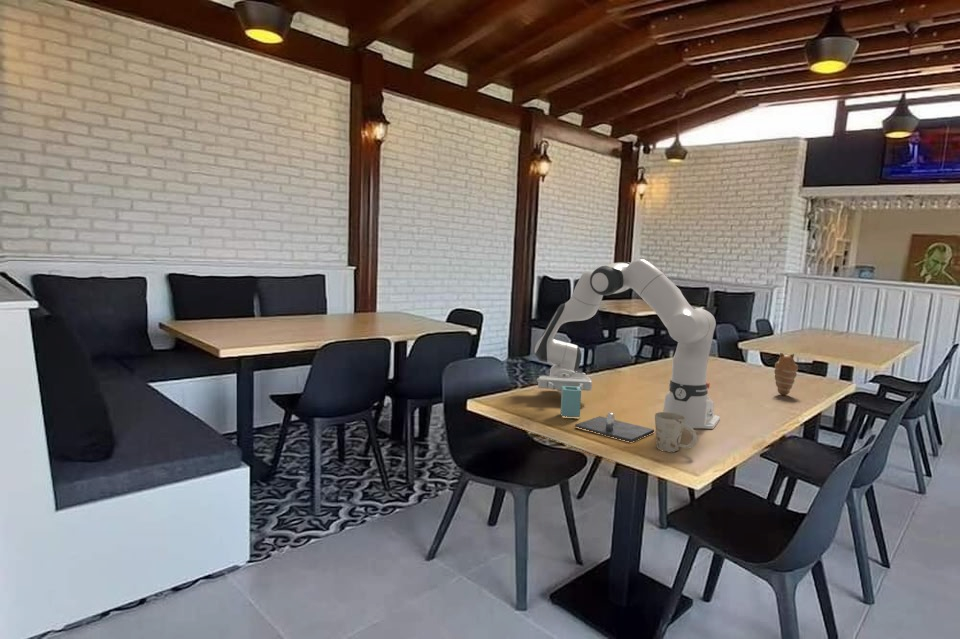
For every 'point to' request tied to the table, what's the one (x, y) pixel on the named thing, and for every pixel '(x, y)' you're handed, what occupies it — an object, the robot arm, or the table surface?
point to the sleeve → (570, 401)
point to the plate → (615, 428)
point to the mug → (671, 431)
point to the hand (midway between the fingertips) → (566, 388)
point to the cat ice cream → (785, 373)
